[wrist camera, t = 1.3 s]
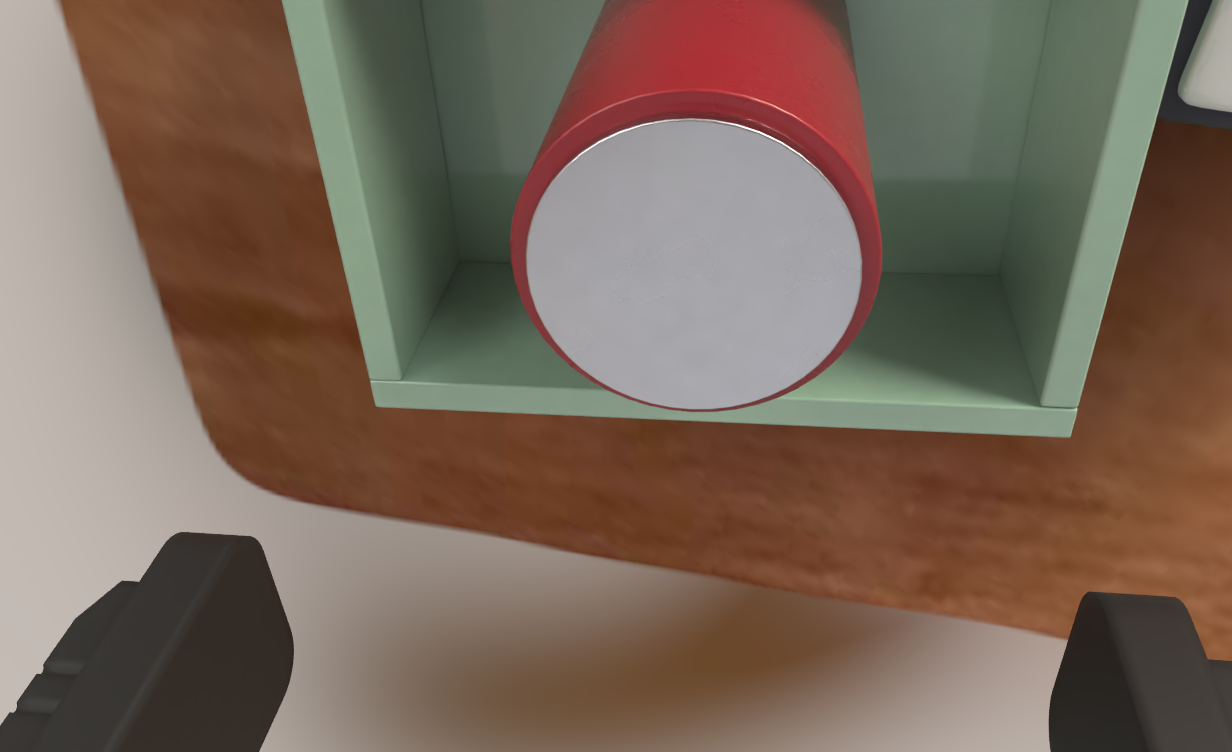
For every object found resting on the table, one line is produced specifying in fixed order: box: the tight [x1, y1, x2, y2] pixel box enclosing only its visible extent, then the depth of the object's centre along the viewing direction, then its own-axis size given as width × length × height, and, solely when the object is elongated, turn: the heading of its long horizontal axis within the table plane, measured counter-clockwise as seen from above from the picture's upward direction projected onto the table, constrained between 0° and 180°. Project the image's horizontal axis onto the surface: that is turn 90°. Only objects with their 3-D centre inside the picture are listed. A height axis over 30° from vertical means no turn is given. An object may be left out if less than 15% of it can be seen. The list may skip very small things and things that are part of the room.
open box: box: [282, 0, 1189, 438], centre depth 22 cm, size 14×16×6 cm
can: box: [510, 0, 882, 412], centre depth 20 cm, size 6×6×10 cm
